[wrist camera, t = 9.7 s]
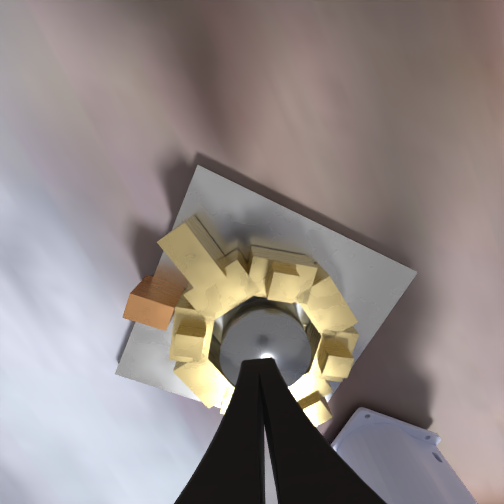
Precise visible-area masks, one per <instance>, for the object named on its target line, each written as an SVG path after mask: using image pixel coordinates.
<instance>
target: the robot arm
mask: <svg viewBox="0 0 504 504" xmlns="http://www.w3.org/2000/svg"><path fill="white" fill-rule="evenodd" d="M264 425H265V431H266V437H267V442H268V448H269V453H270V459H271V464H272V470H273V475H274V481H275V486H276V492H277V499H278V504H478V503H477V502H476V500H475V499H474V498H473V496H472V495H471V493H470V492H469V491H468V489H467V488H466V487H465V485H464V484H463V482H462V481H461V480H460V478H459V477H458V476H457V474H456V473H455V471H454V470H453V469H452V467H451V466H450V465H449V463H448V462H447V460H446V459H445V458H444V456H443V455H442V454H441V452H440V451H439V450H438V448H437V447H436V445H437V444H438V443H439V442H440V440H441V438H440V437H439V435H438V434H436V433H434V432H431V431H428V430H425V429H423V428H420V427H417V426H414V425H411V424H409V423H406V422H403V421H400V420H397V419H395V418H392V417H389V416H386V415H384V414H381V413H378V412H375V411H372V410H370V409H367V408H364V407H360V408H358V409H357V410H356V411H355V413H354V414H353V415H352V417H351V418H350V419H349V421H348V422H347V424H346V425H345V426H344V428H343V429H342V430H341V432H340V433H339V434H338V436H337V437H336V438H335V440H334V441H333V442H332V444H331V445H330V444H329V443H328V442H327V441H326V439H325V438H324V437H323V436H322V435H321V433H320V432H319V431H318V430H317V428H316V427H315V426H314V424H313V423H312V422H311V420H310V419H309V418H308V416H307V415H306V414H305V412H304V411H303V409H302V408H301V406H300V405H299V403H298V402H297V400H296V399H295V397H294V396H293V394H292V392H291V391H290V389H289V388H288V386H287V384H286V382H285V381H284V379H283V377H282V375H281V373H280V371H279V369H278V367H277V364H276V362H275V359H274V358H273V357H268V358H259V359H249V360H243V361H242V362H241V367H240V371H239V375H238V379H237V382H236V385H235V388H234V391H233V394H232V397H231V399H230V402H229V405H228V407H227V409H226V412H225V414H224V416H223V418H222V421H221V423H220V425H219V427H218V429H217V432H216V434H215V436H214V438H213V440H212V442H211V443H210V445H209V447H208V449H207V451H206V453H205V455H204V456H203V458H202V460H201V462H200V463H199V465H198V467H197V468H196V470H195V472H194V474H193V475H192V477H191V478H190V480H189V482H188V483H187V485H186V486H185V488H184V489H183V491H182V492H181V494H180V495H179V497H178V498H177V500H176V501H175V503H174V504H265V457H264Z"/></svg>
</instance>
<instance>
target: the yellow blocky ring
mask: <svg viewBox="0 0 504 504" xmlns="http://www.w3.org/2000/svg"><path fill="white" fill-rule="evenodd" d="M157 243H158V244H159V246H160V247H161V248H162V249H163V251H164V252H165V253H166V254H167V255H168V257H169V258H170V259H171V260H172V262H173V263H174V264H175V265H176V266H177V268H178V269H179V270H180V271H181V273H182V274H183V275H184V276H185V277H186V279H187V280H188V281H189V284H188V286H187V288H186V290H184V291H183V293H182V295H181V297H180V299H179V301H178V303H177V305H176V307H175V314H174V322H173V330H172V338H171V346H170V354H169V360H173V361H176V364H175V367H174V370H173V372H174V373H175V374H176V375H177V376H178V377H179V378H180V379H181V380H182V381H183V382H184V384H185V385H186V386H187V387H188V388H189V389H190V390H191V391H192V392H193V393H194V394H195V395H196V396H197V397H198V398H199V399H200V400H201V401H202V402H203V403H204V404H205V405H206V406H207V407H208V408H210V407H212V406H213V405H215V404H217V403H219V402H220V401H221V406H220V414H225V412H226V409H227V407H228V405H229V402H230V399H231V397H232V394H233V391H234V388H235V385H234V384H232V383H231V382H230V381H229V380H228V379H227V377H226V376H225V374H224V373H223V371H222V368H221V365H220V348H221V347H220V346H219V344H218V343H217V342H216V341H215V340H214V339H213V337H212V331H213V325H214V320H215V319H217V318H219V317H220V316H222V315H223V314H225V313H227V312H228V311H230V310H231V309H233V308H235V307H236V306H238V305H239V304H241V303H243V302H244V301H246V300H247V299H249V298H251V297H252V296H258V297H264V298H267V299H268V300H274V301H281V302H287V303H293V302H295V303H299V304H300V305H301V307H302V308H303V310H304V311H305V313H306V314H307V315H308V317H309V318H310V323H309V326H308V330H307V333H306V335H307V337H308V340H309V342H310V346H311V361H310V364H309V367H308V369H307V371H306V372H305V374H304V375H303V376H302V377H301V378H300V379H299V380H298V381H297V382H296V383H295V384H293V385H292V386H290V387H288V388H289V389H290V391H291V392H292V394H293V396H294V397H295V399H296V400H297V402H298V403H299V405H300V406H301V408H302V409H303V411H304V412H305V414H306V415H307V416H308V418H309V419H310V420H311V422H312V423H313V424H314V426H315V427H316V426H318V425H320V424H321V423H323V422H325V421H327V420H329V419H331V418H333V416H332V413H331V411H330V408H329V406H328V403H327V400H326V398H325V396H326V395H328V394H329V393H331V392H333V390H332V388H331V385H330V383H329V381H336V382H342V380H343V378H348V375H349V373H350V370H351V367H352V365H353V362H354V357H353V356H352V353H353V350H354V348H355V345H356V342H357V339H358V337H359V334H358V332H357V331H356V330H355V328H354V327H353V325H354V324H356V323H358V321H357V319H356V318H355V316H354V314H353V313H352V311H351V310H350V308H349V306H348V305H347V303H346V301H345V300H344V298H343V297H342V295H341V293H340V292H339V290H338V288H337V287H336V285H335V284H334V282H333V280H332V279H331V277H330V276H329V275H328V273H327V272H326V271H325V270H324V269H323V268H322V267H321V266H320V265H319V264H318V263H317V264H314V263H313V262H312V261H311V260H310V258H309V257H308V256H306V255H300V254H295V253H289V252H284V251H278V250H272V249H267V248H261V247H256V246H251V249H250V254H249V259H248V262H247V261H246V260H245V258H244V257H243V255H242V254H241V253H240V251H239V250H238V249H236V250H234V251H233V252H231V253H230V254H228V255H227V256H224V254H223V253H222V252H221V250H220V249H219V248H218V246H217V245H216V244H215V242H214V241H213V240H212V238H211V237H210V236H209V234H208V233H207V232H206V230H205V229H204V228H203V226H202V225H201V223H200V222H199V221H198V219H197V218H196V217H195V215H193V216H192V217H190V218H189V219H187V220H186V221H184V222H183V223H182V224H180V225H179V226H177V227H176V228H174V229H173V230H172V231H170V232H169V233H168V234H166V235H165V236H164V237H163V238H161V239H160V240H159V241H157Z"/></svg>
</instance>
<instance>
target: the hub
mask: <svg viewBox="0 0 504 504" xmlns="http://www.w3.org/2000/svg"><path fill="white" fill-rule="evenodd" d="M193 215H195V217H196V218H197V219H198V221H199V222H200V223H201V225H202V226H203V228H204V229H205V230H206V232H207V233H208V234H209V236H210V237H211V238H212V240H213V241H214V242H215V244H216V245H217V246H218V248H219V249H220V250H221V252H222V253H223V254H224V256H227V255H228V254H230V253H231V252H233V251H234V250H236V249H238V250H239V251H240V253H241V254H242V255H243V257H244V258H245V260H246V261H247V262H248V259H249V254H250V249H251V246H256V247H261V248H267V249H272V250H278V251H284V252H289V253H295V254H300V255H306V256H308V257H309V258H310V260H311V261H312V262H313V263H314V264H317V263H318V264H319V265H320V266H321V267H322V268H323V269H324V270H325V271H326V272H327V273H328V275H329V276H330V277H331V279H332V280H333V282H334V284H335V285H336V287H337V288H338V290H339V292H340V293H341V295H342V297H343V298H344V300H345V301H346V303H347V305H348V306H349V308H350V310H351V311H352V313H353V314H354V316H355V318H356V319H357V321H358V323H356V324H354V325H353V327H354V328H355V330H356V331H357V332H358V334H359V337H358V339H357V342H356V345H355V348H354V350H353V353H352V356H353V357H354V362H353V365H354V363H355V362H356V361H357V359H358V358H359V356H360V355H361V353H362V352H363V351H364V349H365V348H366V346H367V345H368V343H369V342H370V340H371V339H372V338H373V336H374V335H375V333H376V332H377V330H378V329H379V328H380V326H381V325H382V323H383V322H384V320H385V319H386V317H387V316H388V315H389V313H390V312H391V310H392V309H393V307H394V306H395V305H396V303H397V302H398V300H399V299H400V297H401V296H402V294H403V293H404V292H405V290H406V289H407V287H408V286H409V284H410V283H411V282H412V280H413V279H414V277H415V276H416V274H417V273H418V272H416V271H415V270H413V269H411V268H409V267H407V266H405V265H403V264H401V263H399V262H397V261H394V260H392V259H390V258H388V257H386V256H384V255H382V254H380V253H378V252H376V251H374V250H372V249H370V248H368V247H366V246H364V245H362V244H360V243H358V242H356V241H354V240H351V239H349V238H347V237H345V236H343V235H341V234H339V233H337V232H335V231H333V230H331V229H329V228H327V227H325V226H323V225H321V224H319V223H317V222H315V221H313V220H311V219H308V218H306V217H304V216H302V215H300V214H298V213H296V212H294V211H292V210H290V209H288V208H286V207H284V206H282V205H280V204H278V203H276V202H274V201H272V200H270V199H268V198H265V197H263V196H261V195H259V194H257V193H255V192H253V191H251V190H249V189H247V188H245V187H243V186H241V185H239V184H237V183H235V182H233V181H231V180H229V179H227V178H225V177H222V176H220V175H218V174H216V173H214V172H212V171H210V170H208V169H206V168H204V167H202V166H200V165H197V167H196V170H195V172H194V175H193V178H192V180H191V183H190V185H189V188H188V190H187V193H186V195H185V198H184V200H183V203H182V205H181V208H180V210H179V213H178V216H177V218H176V221H175V223H174V226H173V228H172V230H173V229H174V228H176V227H177V226H179V225H180V224H182V223H183V222H184V221H186V220H187V219H189V218H190V217H192V216H193ZM188 284H189V281H188V280H187V279H186V277H185V276H184V275H183V274H182V273H181V271H180V270H179V269H178V268H177V266H176V265H175V264H174V263H173V262H172V260H171V259H170V258H169V257H168V255H167V254H166V253H165V252H164V251H163V253H162V256H161V259H160V261H159V264H158V266H157V269H156V271H155V274H154V276H153V277H152V276H149V275H147V276H146V277H145V278H144V279H143V280H142V281H141V282H140V283H139V284H138V285H137V286H136V287H135V289H134V290H133V291H132V292H131V293H130V295H129V298H128V301H127V305H126V308H125V311H124V314H123V318H125V319H129V320H132V321H135V324H134V327H133V329H132V332H131V335H130V337H129V340H128V342H127V345H126V347H125V350H124V352H123V355H122V357H121V360H120V362H119V365H118V367H117V370H116V372H115V374H116V375H120V376H123V377H126V378H129V379H132V380H135V381H138V382H141V383H144V384H148V385H151V386H154V387H157V388H160V389H163V390H166V391H169V392H173V393H176V394H179V395H182V396H185V397H188V398H191V399H194V400H197V401H201V400H200V399H199V398H198V397H197V396H196V395H195V394H194V393H193V392H192V391H191V390H190V389H189V388H188V387H187V386H186V385H185V384H184V382H183V381H182V380H181V379H180V378H179V377H178V376H177V375H176V374H175V373H174V372H173V370H174V367H175V364H176V361H173V360H169V354H170V346H171V338H172V330H173V322H174V314H175V307H176V305H177V303H178V301H179V299H180V297H181V295H182V293H183V291H184V290H186V288H187V286H188ZM309 323H310V318H309V317H308V315H307V314H306V313H305V311H304V310H303V308H302V307H301V305H300V304H299V303H295V302H293V303H287V302H281V301H274V300H268V299H267V298H264V297H258V296H252V297H251V298H249V299H247V300H246V301H244V302H243V303H241V304H239V305H238V306H236V307H235V308H233V309H231V310H230V311H228V312H227V313H225V314H223V315H222V316H220V317H219V318H217V319H215V320H214V325H213V331H212V337H213V339H214V340H215V341H216V342H217V343H218V344H219V346H220V347H221V348H220V365H221V368H222V371H223V373H224V374H225V376H226V377H227V379H228V380H229V381H230V382H231V383H232V384H234V385H236V382H237V379H238V375H239V371H240V367H241V362H242V361H243V360H249V359H259V358H268V357H273V358H274V359H275V362H276V364H277V367H278V369H279V371H280V373H281V375H282V377H283V379H284V381H285V382H286V384H287V386H288V387H290V386H292V385H293V384H295V383H296V382H297V381H298V380H299V379H300V378H301V377H302V376H303V375H304V374H305V372H306V371H307V369H308V367H309V364H310V361H311V346H310V342H309V340H308V337H307V335H306V333H307V330H308V326H309ZM353 365H352V366H353ZM351 368H352V367H351ZM343 379H344V378H343ZM342 381H343V380H342ZM329 383H330V385H331V388H332V390H333V392H331V393H329V394H328V395H326V396H325V398H326V400H327V402H328V401H329V399H330V398H331V397H332V395H333V394H334V392H335V391H336V389H337V388H338V387H339V385H340V384H341V382H336V381H329ZM201 402H202V401H201ZM213 406H216V407H219V408H220V406H221V401H220V402H219V403H217V404H215V405H213Z"/></svg>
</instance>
